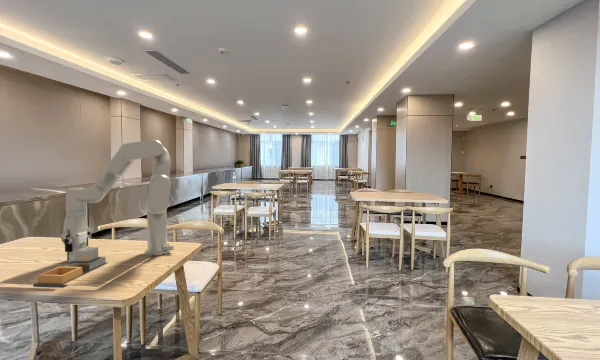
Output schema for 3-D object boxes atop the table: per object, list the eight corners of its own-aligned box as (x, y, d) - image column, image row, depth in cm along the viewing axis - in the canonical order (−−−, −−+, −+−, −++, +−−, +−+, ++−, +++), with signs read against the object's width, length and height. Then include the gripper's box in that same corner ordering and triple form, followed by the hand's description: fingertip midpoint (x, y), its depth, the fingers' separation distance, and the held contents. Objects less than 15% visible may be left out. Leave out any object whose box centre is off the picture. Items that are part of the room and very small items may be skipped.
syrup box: (74, 260, 147) (74, 230, 146) (87, 259, 148) (86, 230, 147) (66, 263, 142) (66, 233, 141) (80, 263, 142) (79, 233, 141)
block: (98, 264, 138) (98, 247, 137) (88, 268, 132) (88, 251, 131) (85, 264, 138) (85, 247, 138) (75, 268, 132) (75, 250, 132)
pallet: (84, 264, 141) (84, 255, 141) (109, 265, 141) (109, 256, 141) (33, 286, 115) (32, 276, 115) (63, 287, 115) (62, 277, 115)
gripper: (82, 210, 152) (83, 243, 153) (52, 216, 135) (54, 253, 136) (96, 211, 152) (97, 244, 153) (68, 217, 135) (69, 254, 135)
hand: (77, 248), depth 144 cm, fingers open, 9 cm apart
